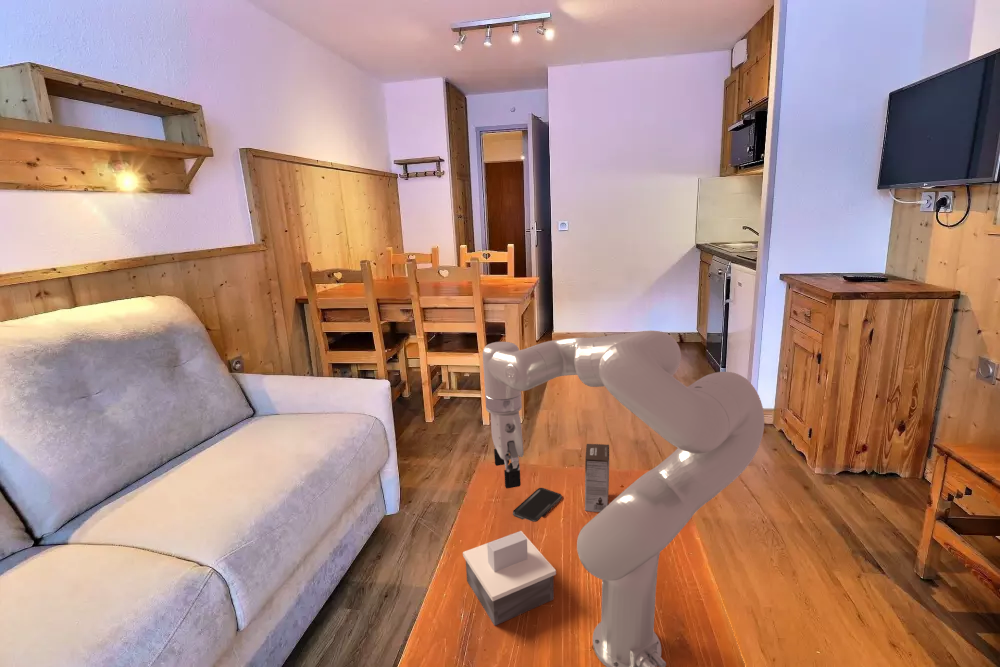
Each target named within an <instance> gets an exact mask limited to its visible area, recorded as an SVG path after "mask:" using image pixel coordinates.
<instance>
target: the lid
mask: <svg viewBox="0 0 1000 667" xmlns="http://www.w3.org/2000/svg"><path fill="white" fill-rule="evenodd" d="M462 556H463V558H464V560H465V562H466V561H467V563H468V564H469V566H470V567H471V569H472V571H473V572H474V574H475V575H476V577H477V578H478V580H479V581H480V583H481V584H482V586H483V588H484V589H485V591H486V592H487V594H488V595H489V597H490V598H491V600H492V601H495V600H497V599H500V598H502V597H504V596H507V595H509V594H511V593H514V592H516V591H518V590H521V589H523V588H525V587H528V586H530V585H532V584H535V583H537V582H539V581H542V580H544V579H547V578H549V577H551V576H553V577H554V576H556V575H557V570H556V569H555V567H553V565H552V564H551V563H550V562H549V561H548V560H547V559H546V557H545V556H544V555H543V554H542V552H540V551H539V549H538V548H537V547H536V546H535V545H534V544H533V543H532V541H531V540H530V539H529V538H528V537H527V536H526V534H524V532H523V531H522V530H519V531H517V532H514V533H510V534H508V535H505V536H503V537H500V538H498V539H495V540H492V541H489V542H486V543H484V544H481V545H479V546H476V547H473V548H470V549H467V550H464V551H463V552H462Z"/></svg>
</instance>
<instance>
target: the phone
mask: <svg viewBox="0 0 1000 667" xmlns="http://www.w3.org/2000/svg"><path fill="white" fill-rule="evenodd" d="M562 499H563V496H562V494H561V493H558V492H556V491H552V490H551V489H548V488H544V487H538V488H537V489H536V490H535V491H534V492H533V493H532V494H530V495H529V496H528V497H527V498H526V499H525V500H523V501H522V502H521V503H520V504H519V505H518V506H516V508H514V509H513V510H512V516H514V517H516V518H518V519H521V520H528V521H530V522H532V523H533V522H538V520H540V519H541V518H544V517H545V516H546V515H547V514H548V513H549V512H550V511H551V510H552V509H553V508H554V507H555V506H556V505H557V504H558V503H559V502H560V501H561V500H562Z"/></svg>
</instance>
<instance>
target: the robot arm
mask: <svg viewBox="0 0 1000 667" xmlns="http://www.w3.org/2000/svg"><path fill="white" fill-rule="evenodd" d="M681 361H682V353H681V348H680V345H679V344H678V342H677V341H676V339H675V338H674V337H673V336H671V335H670V334H668V333H666V332H663V331H661V330H643V331H642V330H641V331H640V330H639V331H634V332H626V333H618V334H613V335H612V334H611V335H601V336H594V337H568V338H563V339H555V340H553V339H552V340H548V341H544V342H541V343H537V344H536V345H532V346H530V347H527V348H523V349H519V347H518V345H517V344H516V343H513V342H510V341H495V342H491V343H488V344H487V345H485V347H483V350H482V363H483V364H482V366H483V381H484V382H483V383H484V398H485V399H484V400H485V401H484V402H485V410H486V411H487V413H489V414H490V428H491V439H492V442H493V447H494V449H493V454H494V464H495V466H496V467H497V466H504V470H503V471H504V472H503V474H504V486H505V488H506V489H513V488H518V487H521V484H522V483H521V465H520V459H519V458H520V457H521V458H523V456H524V443H523V442H524V441H523V433H522V422H521V417H520V416H521V415H520V411H521V410H522V407H523V406H522V392H524V391H529V390H531V389H533V388H536V387H537V386H540V385H542V384H545V383H546V382H549V381H551V380H555V379H556V378H558V377H559V378H560V377H565V376H577V377H578V379H579V380H580V381H581V382H582V383H583V384H584V385H585V386H587V387H590V388H591V387H592V388H598V387H599V388H601V387H602V388H603V387H604V388H606V390H607V391H608V393H610V395H612V396H613V398H615V399H616V400H617V401H618V402H619V404H621V405H622V406H624V407H625V408H626V409H627V410H628V411H629V412H630V413H632V414H633V415H634V416H636V417H637V418H639V420H641V421H642V422H643V423H644V424H645V425H646V426H648V427H649V428H650V429H652V430H653V431H654V432H655V433H657V434H658V435H659V436H660V437H661V438H663V439H664V440H665V441H666V442H668V443H669V444H671V445H672V446H674V447H676V449H675V451H673V452H672V453H671V454H669V455H668V456H667V457H666V458H665V459H664V460H662V462H660V463H659V464H658V465H657V466H655V467H654V468H652V469H649V471H646V472H645V473H643V475H641V476H640V477H639V478H637V479H636V480H635V481H634V482H632V483H631V484H630V485H628V487H627V488H625V489H624V490H623V491H622V492H621V493H620V494H619V495H618V496H616V497H615V498H614V499H613V500H612V501H610V503H608V506H606V507H605V508H604V509H603V510H602V511H601V512H598V514H596V515H595V516H594V517H593V518H592V519H590V520H589V521H588V522H587V523H586V524H585V525H584V526H582V528H581V529H580V531H579V533H578V536H577V539H576V540H577V541H576V551H577V555H578V558H579V562H580V563H581V565H582V566H583V567H584V569H585V570H586V571H587V572H588V573H589V574H591V575H592V576H593V577H595V578H596V579H598V580H601V581H602V582H601V616H600V617H601V619H600V620H601V621H600V622H599V623H598V624H597V625H596V626H595V627H594V630H593V633H592V647H593V651H594V654H595V655H596V656H597V658H598V660H599V661H600V662H601V664H603V665H604V666H605V667H666V666H667V662H666V661H665V660H664V659H663V658H662V644H661V641H660V639H659V637H658V635H657V634H656V632H655V630H654V629H655V611H656V593H657V582H658V581H657V578H658V566H659V560H660V555H661V554H660V553H661V552H663V550H664V549H665V548H666V547H667V546H668V545H669V544H671V543H672V541H673V540H674V539H675V538H676V537H677V536H678V534H679V533H680V532H681V531H682V530H683V529H684V527H685V526H686V525H687V524H688V523H689V521H690V520H691V519H692V518H693V516H694V515H695V514H696V512H698V510H700V508H702V507H703V506H704V505H706V504H707V503H708V502H710V501H711V500H712V499H713V498H715V497H716V496H718V494H719V493H721V492H722V491H723V490H724V489H726V488H727V487H728V486H729V485H730V484H732V483H733V482H735V480H737V478H739V476H740V475H741V474H742V473H743V472H744V471H745V470H746V469H747V467H748V466H749V465H750V463H751V462H752V461H753V459H754V457H755V456H756V454H757V453H758V450H759V448H760V445H761V443H762V440H763V435H764V431H765V430H764V429H765V414H764V408H763V404H762V400H761V398H760V395H759V393H758V391H757V390H756V388H755V386H754V385H753V383H751V382H750V381H749V379H747V378H746V377H744V376H742V375H740V374H738V373H735V372H731V371H717V372H713V373H709V374H707V375H704V376H703V377H701V378H699V379H697V380H696V381H694V382H693V383H690V385H688V386H687V385H685V384H684V383H683V382H681V381H680V380H679V379H676V377H674V375H675V374H676V373H677V371H678V369H679V368H680V365H681ZM510 461H511V462H510Z"/></svg>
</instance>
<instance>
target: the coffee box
mask: <svg viewBox="0 0 1000 667" xmlns="http://www.w3.org/2000/svg"><path fill="white" fill-rule="evenodd" d="M584 457H585V461H584V462H585V463H584V464H585V466H584V474H585V476H584V479H585V480H584V482H585V483H584V487H585V488H584V511H585V512H591V513H592V512H593V513H594V512H595V513H600V512H601V511H602V510H603V509H604V508H605V507H606V506H608V505H609V492H610V491H609V489H610V486H609V485H610V482H609V481H610V445H609V444H602V443H601V444H600V443H586V445H585V456H584Z"/></svg>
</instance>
